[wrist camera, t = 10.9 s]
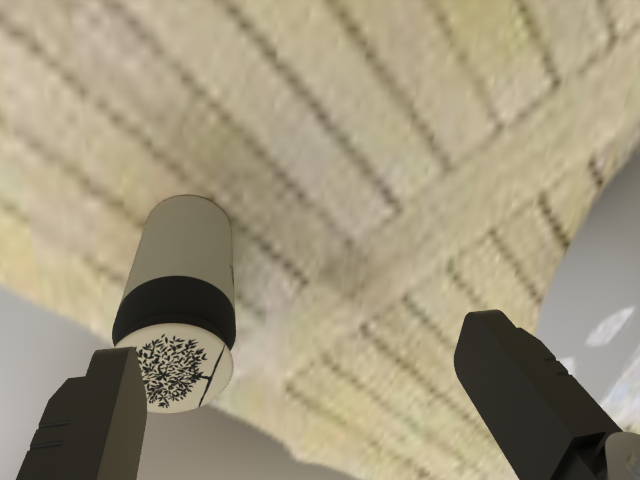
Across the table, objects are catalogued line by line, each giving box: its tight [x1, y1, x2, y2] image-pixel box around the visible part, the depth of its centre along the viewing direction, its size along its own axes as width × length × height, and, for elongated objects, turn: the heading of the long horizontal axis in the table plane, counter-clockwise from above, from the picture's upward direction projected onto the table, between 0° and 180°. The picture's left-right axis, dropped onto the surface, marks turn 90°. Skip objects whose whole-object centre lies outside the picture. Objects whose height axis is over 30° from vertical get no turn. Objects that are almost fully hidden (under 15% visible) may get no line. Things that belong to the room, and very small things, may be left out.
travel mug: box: [112, 195, 236, 413], centre depth 33 cm, size 8×8×18 cm
